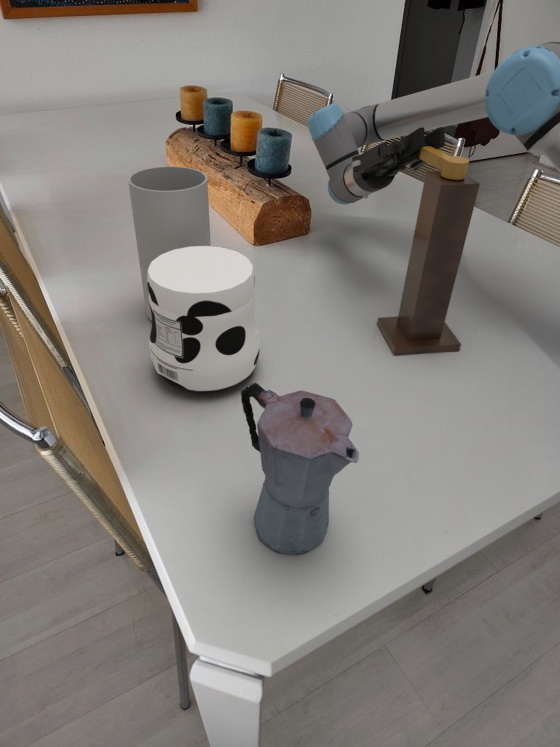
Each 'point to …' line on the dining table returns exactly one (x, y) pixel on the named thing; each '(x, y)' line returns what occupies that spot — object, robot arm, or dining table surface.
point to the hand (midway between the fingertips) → (432, 136)
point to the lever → (442, 162)
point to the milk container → (203, 318)
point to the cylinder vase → (168, 213)
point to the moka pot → (297, 464)
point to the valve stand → (432, 268)
